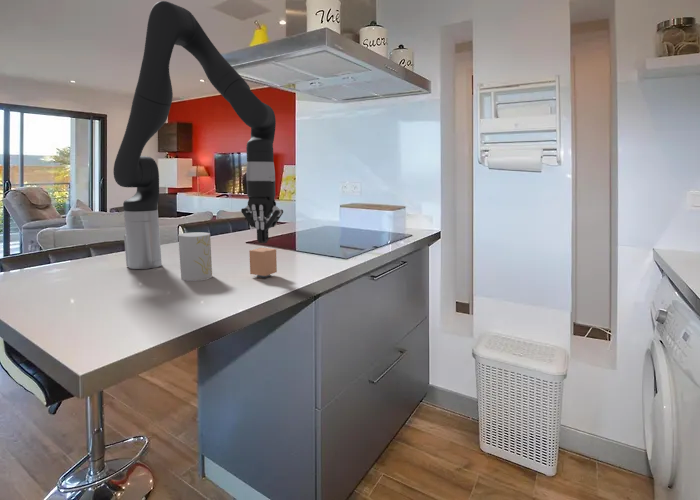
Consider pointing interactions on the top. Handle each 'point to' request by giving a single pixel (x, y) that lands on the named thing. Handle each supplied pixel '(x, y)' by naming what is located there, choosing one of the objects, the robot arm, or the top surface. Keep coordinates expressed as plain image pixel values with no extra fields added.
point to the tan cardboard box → (263, 261)
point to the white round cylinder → (195, 256)
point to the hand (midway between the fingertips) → (263, 242)
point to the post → (263, 276)
